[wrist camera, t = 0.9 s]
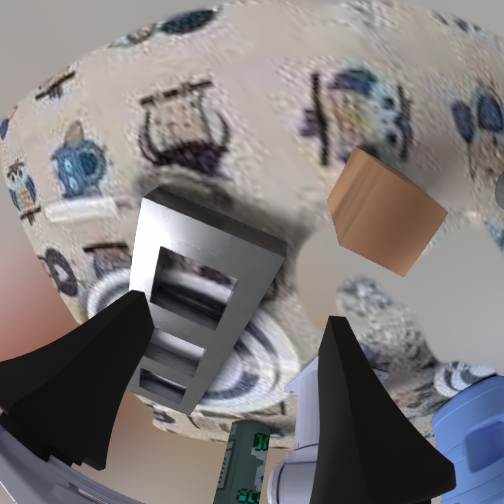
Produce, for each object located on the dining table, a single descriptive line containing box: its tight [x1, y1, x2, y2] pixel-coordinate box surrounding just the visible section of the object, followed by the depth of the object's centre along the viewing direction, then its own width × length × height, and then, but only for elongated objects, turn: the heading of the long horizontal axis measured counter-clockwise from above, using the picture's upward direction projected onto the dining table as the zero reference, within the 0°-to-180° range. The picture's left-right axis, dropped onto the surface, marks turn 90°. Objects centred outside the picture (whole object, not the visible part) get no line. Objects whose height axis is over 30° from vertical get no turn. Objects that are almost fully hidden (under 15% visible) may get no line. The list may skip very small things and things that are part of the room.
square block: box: [327, 146, 448, 277], centre depth 13 cm, size 4×4×6 cm
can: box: [213, 420, 271, 504], centre depth 30 cm, size 6×6×15 cm
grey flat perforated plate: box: [127, 188, 287, 416], centre depth 26 cm, size 10×30×2 cm, turn 159°
